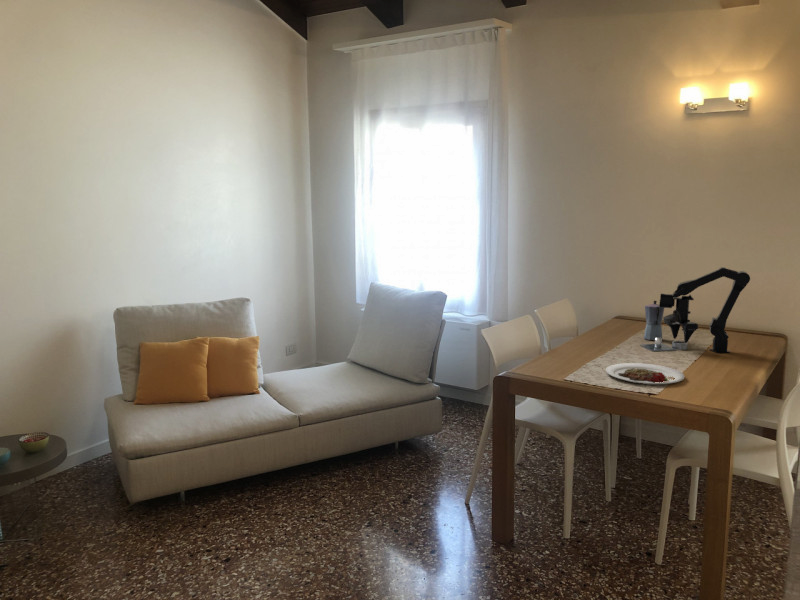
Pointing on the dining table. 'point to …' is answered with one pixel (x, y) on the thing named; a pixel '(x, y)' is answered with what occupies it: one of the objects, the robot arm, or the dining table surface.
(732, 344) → the dining table surface
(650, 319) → the moka pot
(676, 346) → the ring
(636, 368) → the plated food
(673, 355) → the dining table surface
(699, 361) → the dining table surface
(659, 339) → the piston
